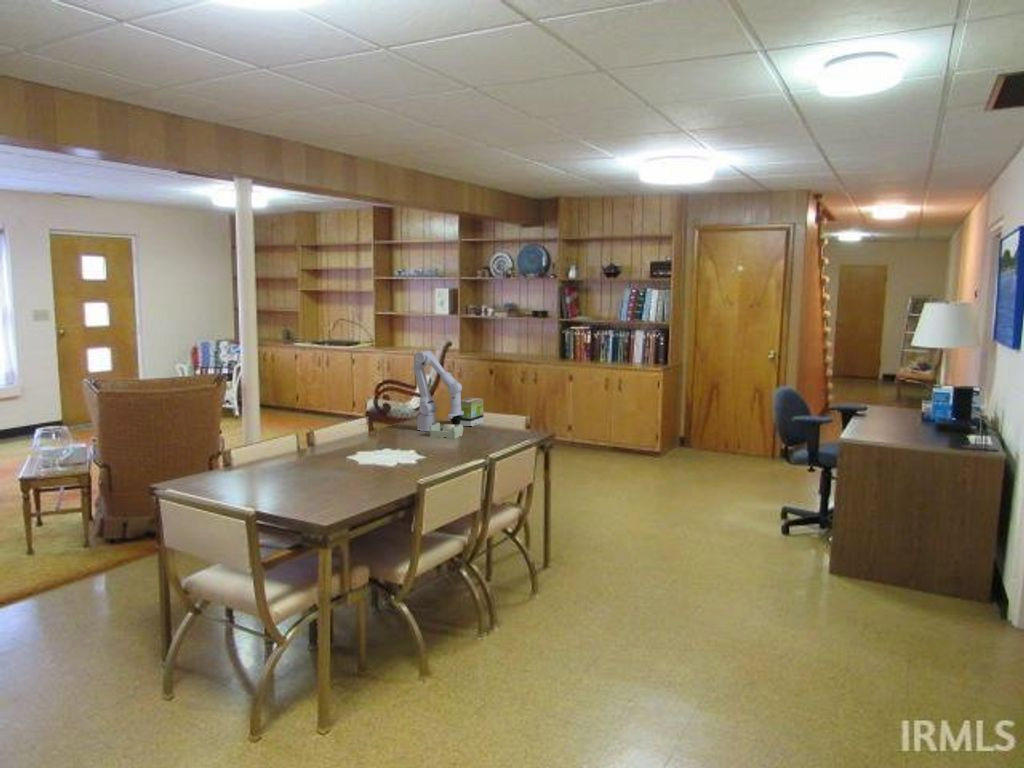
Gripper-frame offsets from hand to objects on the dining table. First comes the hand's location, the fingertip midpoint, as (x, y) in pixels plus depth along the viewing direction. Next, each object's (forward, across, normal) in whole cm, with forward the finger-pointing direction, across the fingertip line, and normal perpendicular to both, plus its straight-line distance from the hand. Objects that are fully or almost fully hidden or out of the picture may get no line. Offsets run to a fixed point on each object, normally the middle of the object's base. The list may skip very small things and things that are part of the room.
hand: (456, 429), depth 395 cm
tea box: (+2, +23, +3) cm, 23 cm away
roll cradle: (+1, -11, 0) cm, 11 cm away
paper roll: (-1, -4, 0) cm, 4 cm away
